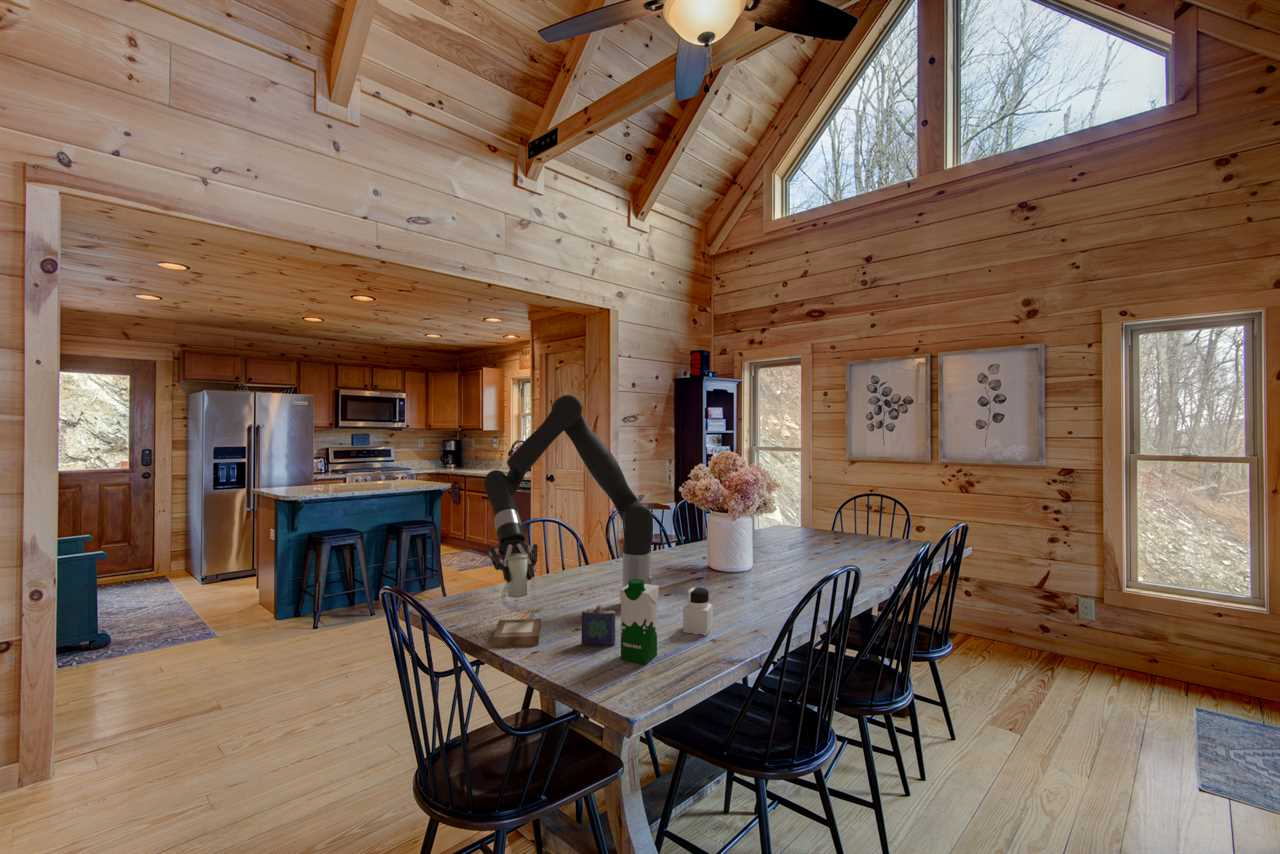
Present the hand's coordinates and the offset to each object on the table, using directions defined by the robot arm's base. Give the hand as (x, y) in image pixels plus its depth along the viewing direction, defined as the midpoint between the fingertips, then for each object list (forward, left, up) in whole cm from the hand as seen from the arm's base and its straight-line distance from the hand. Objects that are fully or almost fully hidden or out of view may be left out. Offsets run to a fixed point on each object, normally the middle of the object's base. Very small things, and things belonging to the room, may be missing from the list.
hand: (519, 579), depth 162 cm
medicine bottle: (-50, -3, -17) cm, 53 cm away
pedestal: (+1, -3, -17) cm, 17 cm away
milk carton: (-31, +15, -17) cm, 39 cm away
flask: (-21, +5, -17) cm, 28 cm away
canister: (+1, -2, -5) cm, 5 cm away
